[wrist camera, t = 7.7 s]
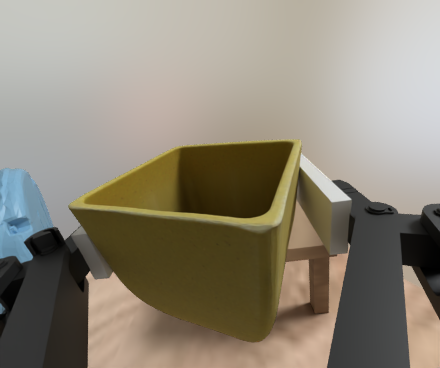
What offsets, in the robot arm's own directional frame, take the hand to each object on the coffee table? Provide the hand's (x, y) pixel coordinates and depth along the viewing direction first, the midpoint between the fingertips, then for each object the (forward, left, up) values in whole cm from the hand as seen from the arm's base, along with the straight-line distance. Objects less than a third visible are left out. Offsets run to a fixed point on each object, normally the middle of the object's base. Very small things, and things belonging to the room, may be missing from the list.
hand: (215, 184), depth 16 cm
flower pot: (0, -4, -6) cm, 8 cm away
